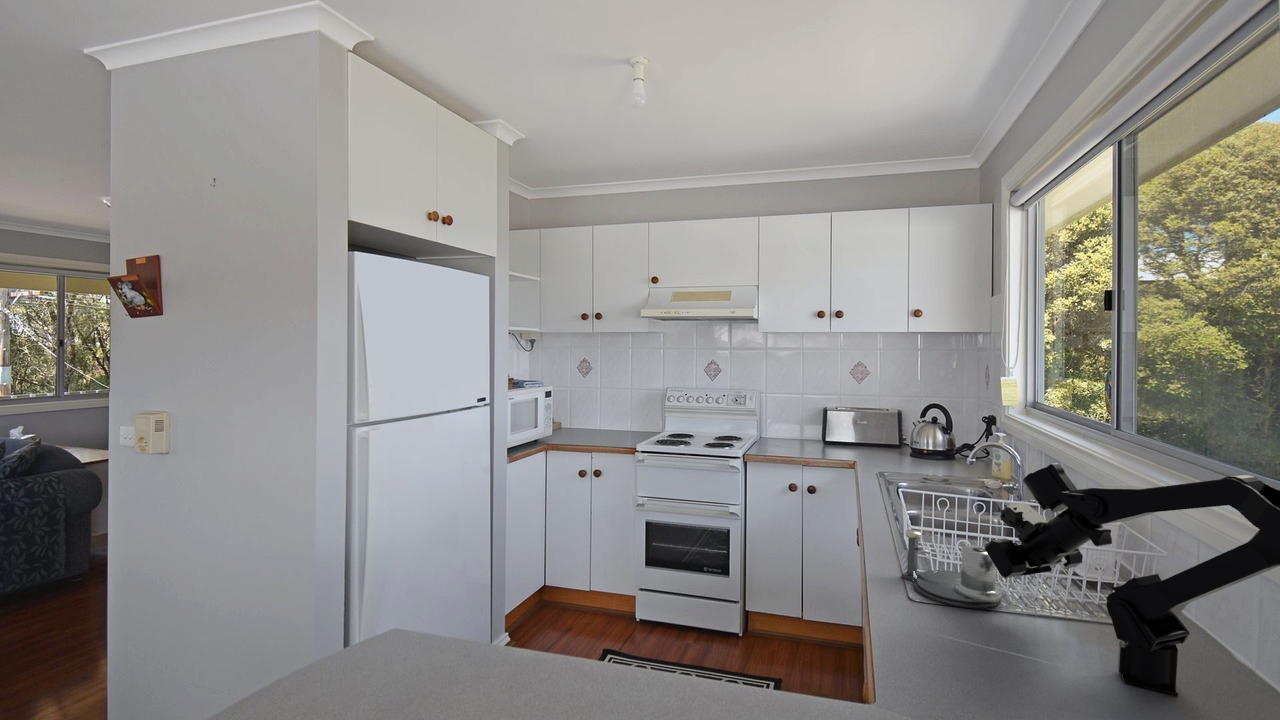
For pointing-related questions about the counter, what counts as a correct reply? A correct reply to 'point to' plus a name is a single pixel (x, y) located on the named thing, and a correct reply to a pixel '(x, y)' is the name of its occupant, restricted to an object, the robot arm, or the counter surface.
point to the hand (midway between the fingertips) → (1003, 574)
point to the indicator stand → (913, 553)
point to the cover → (977, 576)
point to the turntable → (945, 589)
